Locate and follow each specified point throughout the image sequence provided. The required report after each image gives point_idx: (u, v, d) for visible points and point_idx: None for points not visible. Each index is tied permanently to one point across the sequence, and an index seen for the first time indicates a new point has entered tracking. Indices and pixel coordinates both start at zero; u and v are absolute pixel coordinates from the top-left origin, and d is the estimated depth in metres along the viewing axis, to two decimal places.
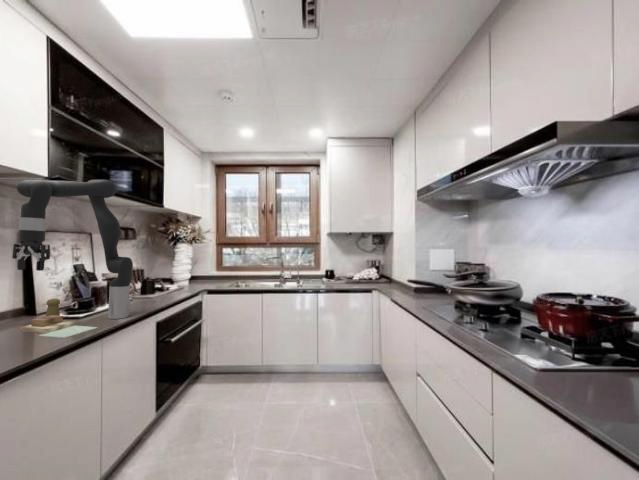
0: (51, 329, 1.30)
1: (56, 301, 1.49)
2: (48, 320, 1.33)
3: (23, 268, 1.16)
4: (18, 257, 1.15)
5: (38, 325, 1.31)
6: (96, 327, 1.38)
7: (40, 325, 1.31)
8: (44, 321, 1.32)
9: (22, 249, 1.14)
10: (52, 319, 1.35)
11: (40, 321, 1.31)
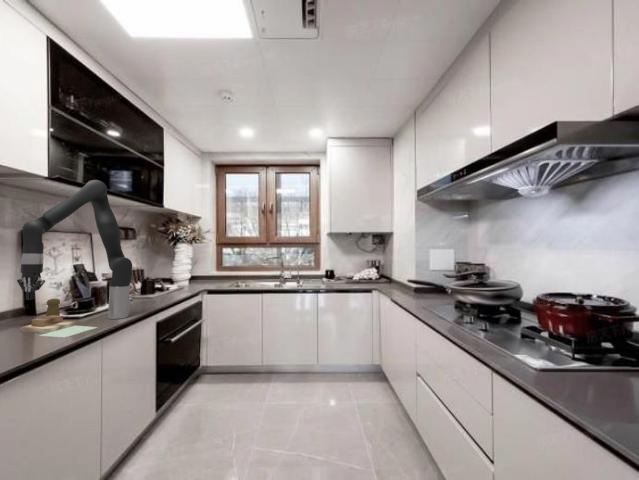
0: (51, 329, 1.30)
1: (56, 301, 1.49)
2: (48, 320, 1.33)
3: None
4: (27, 289, 1.36)
5: (38, 325, 1.31)
6: (96, 327, 1.38)
7: (40, 325, 1.31)
8: (44, 321, 1.32)
9: (24, 280, 1.36)
10: (52, 319, 1.35)
11: (40, 321, 1.31)
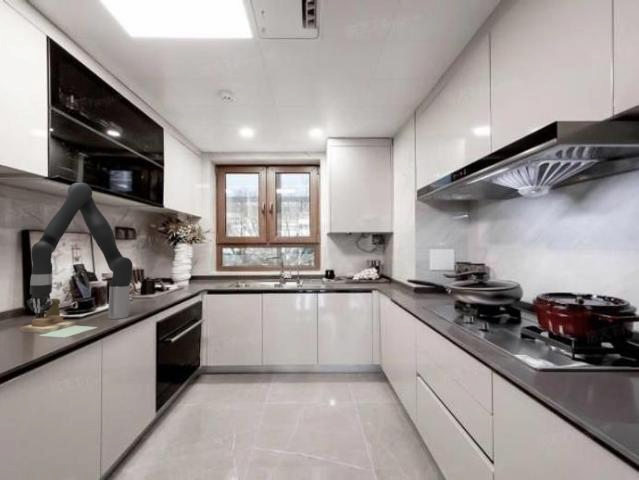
0: (51, 329, 1.30)
1: (56, 301, 1.49)
2: (48, 320, 1.33)
3: None
4: (36, 310, 1.35)
5: (38, 325, 1.31)
6: (96, 327, 1.38)
7: (40, 325, 1.31)
8: (44, 321, 1.32)
9: (34, 301, 1.35)
10: (52, 319, 1.35)
11: (40, 321, 1.31)
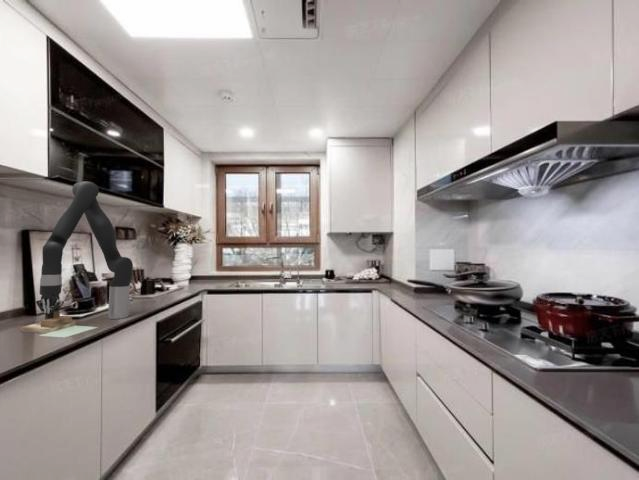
0: (51, 329, 1.30)
1: None
2: (57, 321, 1.32)
3: None
4: (46, 310, 1.35)
5: (47, 326, 1.30)
6: (96, 327, 1.38)
7: (49, 326, 1.30)
8: (53, 322, 1.31)
9: (43, 301, 1.34)
10: (61, 320, 1.34)
11: (49, 322, 1.30)
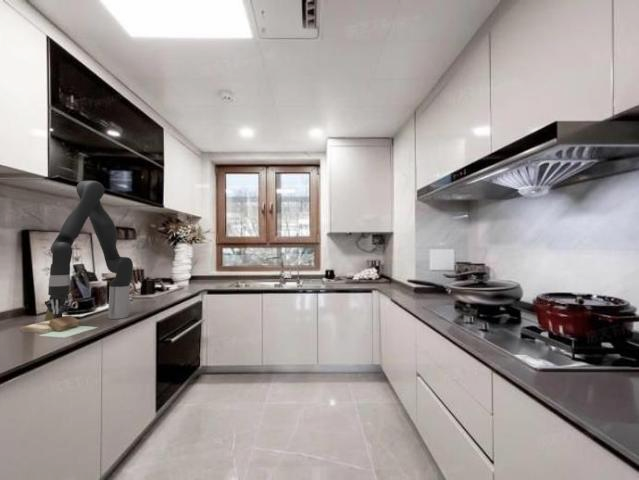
0: (51, 329, 1.30)
1: None
2: (65, 325, 1.32)
3: None
4: (54, 311, 1.34)
5: (55, 328, 1.30)
6: (96, 327, 1.38)
7: (56, 329, 1.30)
8: (62, 326, 1.30)
9: (52, 302, 1.34)
10: (69, 324, 1.34)
11: (58, 325, 1.30)
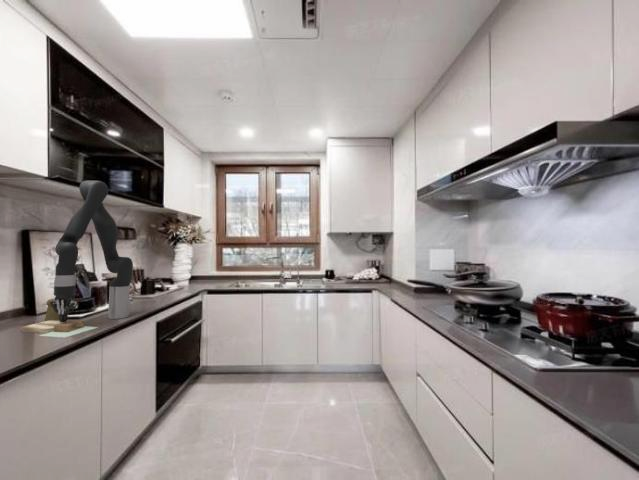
0: (51, 329, 1.30)
1: None
2: (71, 325, 1.32)
3: None
4: (60, 311, 1.34)
5: (62, 330, 1.29)
6: (96, 327, 1.38)
7: (64, 330, 1.29)
8: (68, 326, 1.30)
9: (57, 302, 1.33)
10: (75, 324, 1.33)
11: (64, 326, 1.29)
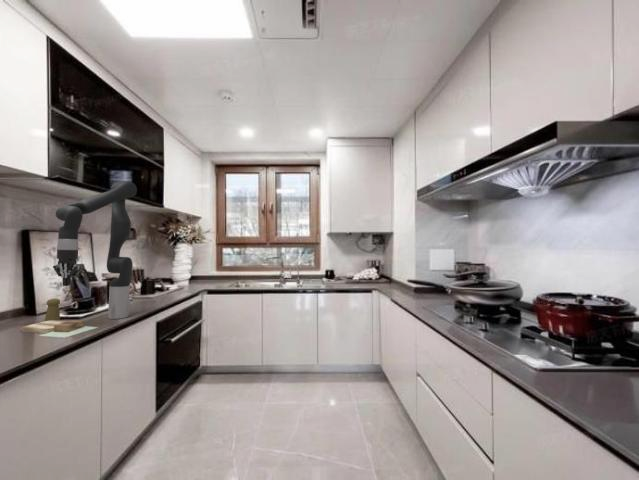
0: (51, 329, 1.30)
1: (56, 301, 1.49)
2: (71, 325, 1.32)
3: None
4: (63, 275, 1.34)
5: (62, 330, 1.29)
6: (96, 327, 1.38)
7: (64, 330, 1.29)
8: (68, 326, 1.30)
9: (61, 266, 1.34)
10: (75, 324, 1.33)
11: (64, 326, 1.29)
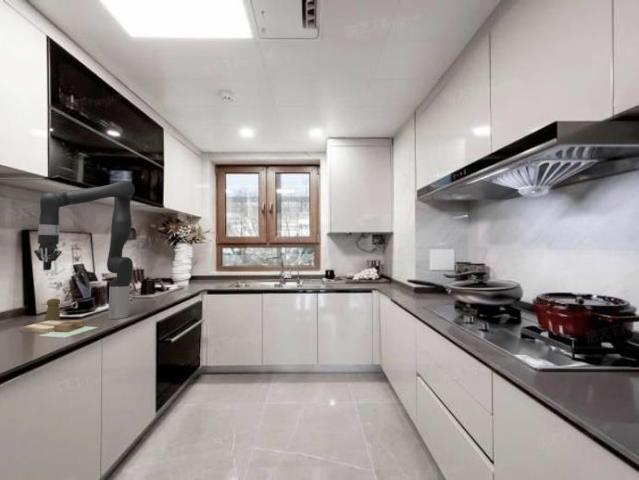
0: (51, 329, 1.30)
1: (56, 301, 1.49)
2: (71, 325, 1.32)
3: None
4: (44, 259, 1.40)
5: (62, 330, 1.29)
6: (96, 327, 1.38)
7: (64, 330, 1.29)
8: (68, 326, 1.30)
9: (41, 250, 1.39)
10: (75, 324, 1.33)
11: (64, 326, 1.29)
